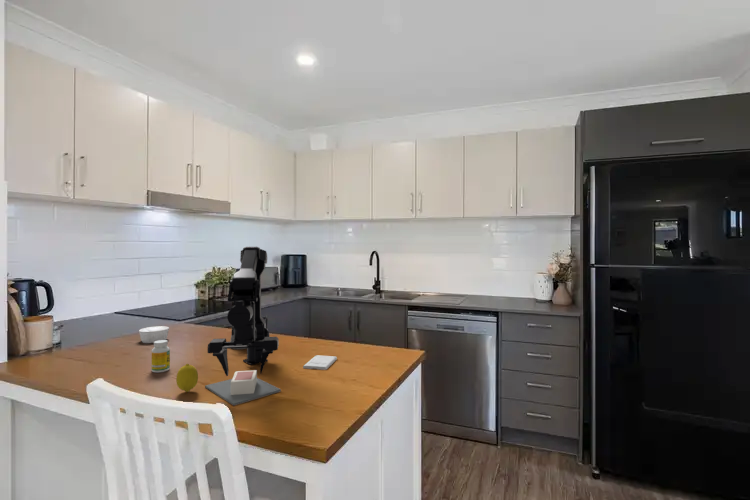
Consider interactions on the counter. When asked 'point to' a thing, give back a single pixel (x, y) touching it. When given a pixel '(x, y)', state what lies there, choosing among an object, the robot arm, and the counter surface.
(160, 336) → the ramekin
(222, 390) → the mat
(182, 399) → the counter surface
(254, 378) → the card box
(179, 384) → the lemon
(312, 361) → the external hard drive
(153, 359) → the supplement bottle
